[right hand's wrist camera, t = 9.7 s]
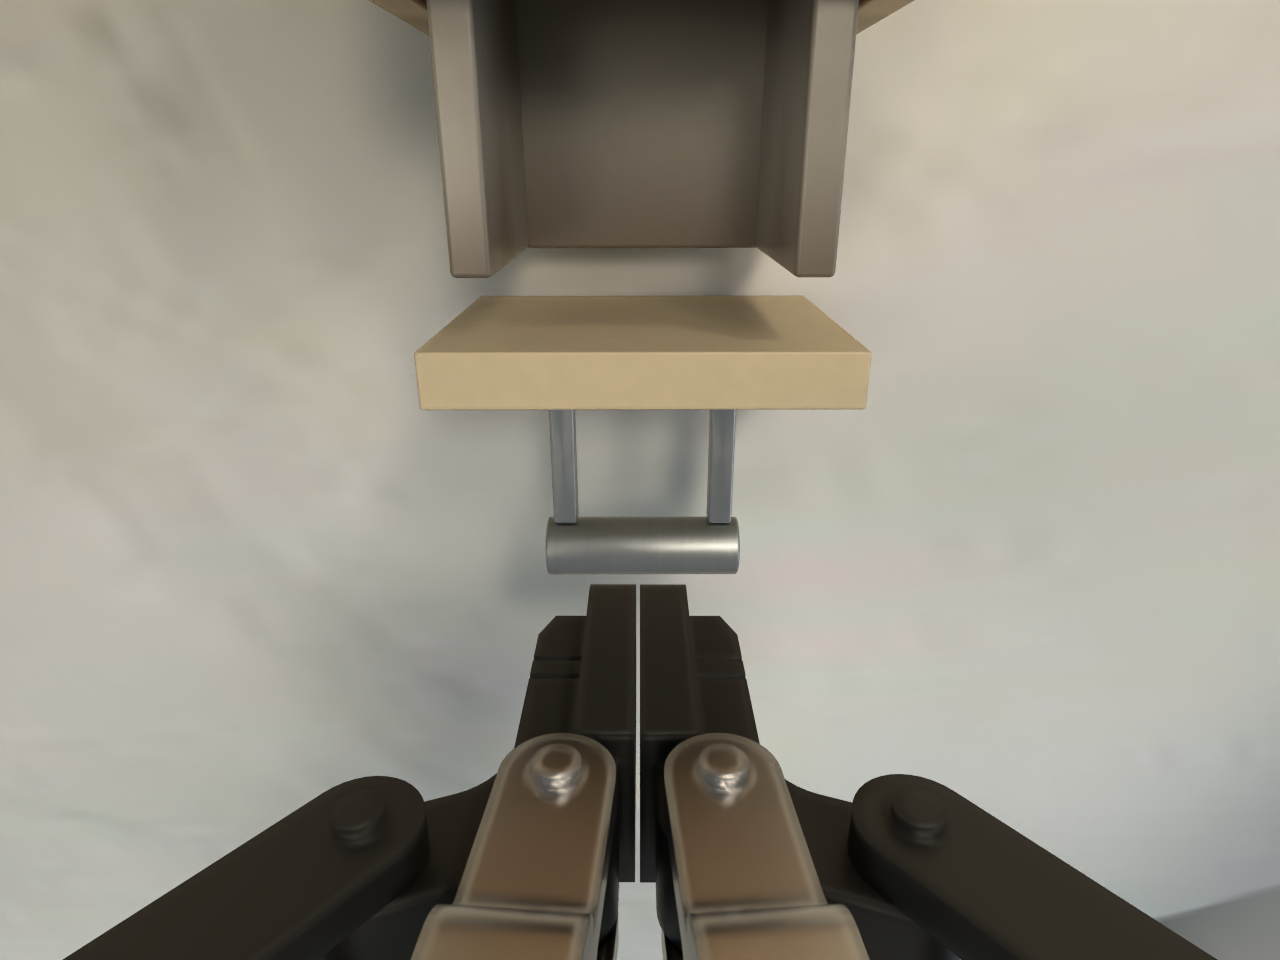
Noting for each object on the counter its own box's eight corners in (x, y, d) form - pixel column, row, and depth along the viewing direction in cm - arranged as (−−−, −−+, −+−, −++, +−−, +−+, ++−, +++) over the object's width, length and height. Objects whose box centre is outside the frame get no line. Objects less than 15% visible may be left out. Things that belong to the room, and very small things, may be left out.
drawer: (787, 514, 25) (841, 642, 18) (496, 515, 25) (445, 642, 18) (872, -620, 16) (1040, -1189, 9) (410, -620, 16) (243, -1186, 9)
